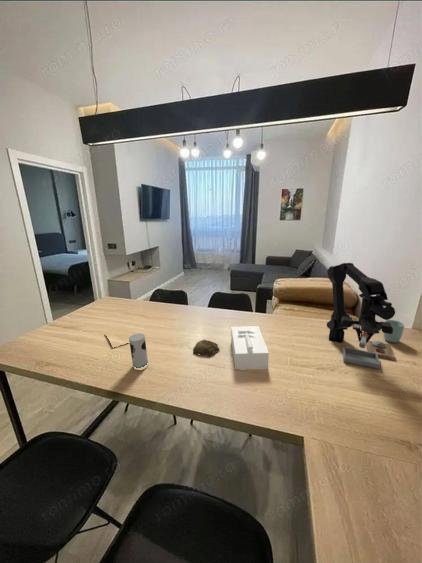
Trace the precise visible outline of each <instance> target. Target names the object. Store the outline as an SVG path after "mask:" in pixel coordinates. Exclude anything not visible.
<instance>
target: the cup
mask: <svg viewBox="0 0 422 563" xmlns="http://www.w3.org/2000/svg"><path fill="white" fill-rule="evenodd" d="M384 322H388V323H390V324H391V325H392V327H393V334H388V333H383V332H382V333H383V338H384V340H386V341H387V342H389V343H393V344H394V343H398V342H401V339H402V337H403V333H404V329H405V324H404V323H402V322H400V321H398V320H394V319H389V320H385V321H384Z"/></svg>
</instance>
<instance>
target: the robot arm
mask: <svg viewBox="0 0 422 563" xmlns="http://www.w3.org/2000/svg"><path fill="white" fill-rule="evenodd" d="M347 276H348V277H349V278H350V279H352V281H354V282H355V283H356V284H357V285H358V289H359V291H360V292H361V293H360V294H359V295H358V296H359V297H360V298H361V304H360V311H359V318H358V320H354V319H353V317H352V316H350V315H349V314H348V313H347V312H346V311H345V310H346V309H345V308H346V307H345V295H344V294H345V293H344V283H345V280H346V279H347ZM327 277H328V280H329V281H330V282H331V284H332V285H331V286H332V299H333V301H332V302H333V312H332V314H331V315H330V320H329V321H328V322H326V327H327V328H328V329H329V334H328V340H329V341H332V342H338V343H343V341H344V340H345V330H348V328H352V330H354V331H355V332H356V336H357V340H358V342H360V337H361V334H360V331H362V332H369V335H368V336H367V340H366V343H368V341H371V339H372V337H373V336H374V335H375V334H376V335H377V334H380V332H381V331H382V333H388V334H393V327H392V325H391V324H390V323H388V322H385V321H386V320H392V318H394V316H395V315H396V309H395V307H394V306H392V305H393V303H392V302H389V301H388V299H389V298H388V295H387V292H386V290H385V287H384V284H383V282H381V281H379V280H378V279H376V278H371V277H370V276H367V274H365V273H364V272H363V271H361V270H360V269H359V268H357V267H356V266H355V264H354V263H353V262H343V263H341V264H338V265H337V264H336V265H333V266H332V265H331V266H329V268H328V269H327ZM376 316H378V317H379V318H381V319H383V320H385V321H377V320H376Z"/></svg>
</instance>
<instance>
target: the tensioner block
mask: <svg viewBox="0 0 422 563" xmlns="http://www.w3.org/2000/svg"><path fill="white" fill-rule="evenodd" d="M365 347H366V351H368V352H373V353H377V355H378V358H381V359H387V360H392V361H395V357H396V356H395V354H394V352H393V349H392V347H391V344H389V343H384V342H381V341H376V340H374V341H372V340H369V341H368V343H366V346H365Z"/></svg>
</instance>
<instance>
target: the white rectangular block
mask: <svg viewBox="0 0 422 563" xmlns="http://www.w3.org/2000/svg"><path fill="white" fill-rule="evenodd" d="M230 329H231V330H230V332H231V334H230V336H231V339H230V341H231V346H232V348H231V349H232V354H233V355H232V356H233V363H234V367H235V369H262V370H269V353H270V352H269V350H268V348H267V344H266V342H265V340H264V337H263V334H262V332H261V330H260V327H259V326H258V325H254V326H253V325H250V326H249V325H247V326H245V325H244V326H231V327H230ZM235 369H234V370H235Z"/></svg>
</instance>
